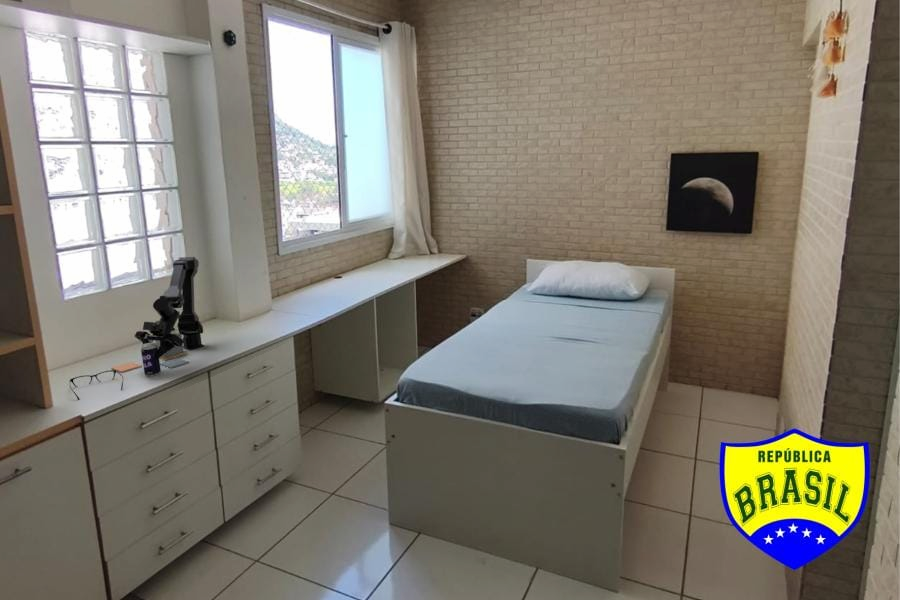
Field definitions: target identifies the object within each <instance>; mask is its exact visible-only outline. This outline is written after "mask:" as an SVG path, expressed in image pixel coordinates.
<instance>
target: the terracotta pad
mask: <svg viewBox="0 0 900 600" xmlns="http://www.w3.org/2000/svg"><path fill="white" fill-rule="evenodd" d="M140 368H143V364H142V365H141V364H139V363H136V362H133V361H130V362H126V363H123V364H119V365H116V366H111V370H116V371H118V372H119V373H120V374H122V373H125V372H129V371H133V370H136V369H140ZM118 372H117V373H118Z"/></svg>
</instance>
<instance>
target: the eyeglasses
mask: <svg viewBox="0 0 900 600" xmlns="http://www.w3.org/2000/svg"><path fill="white" fill-rule="evenodd" d="M108 372H112V373H113V377H112V379H111V380H114V379H115V377H116V374H119V375H120V376H121V377H122V379H124V377H123V375H122V373H120V372H118V371H116V370H113V369H111V370H105V371H101V372H98V373H96V374H91V375H79V376H75V377H73V378H70V380H69V383H72V385H74V387H75V388H78V385H76V384H75V382H74V380H75V379H78V378H83V377H88V378H89V377H90V381H89V383H88V385H90V384H91V383H92V382H93V378H94V377H95V379H96V381H97V382H99V383H101V382H102V381H101V380H100V379H99V378H98V376H99V375H101V374H103V373H108ZM123 385H124V380H122V381H121V387H120V391H121V390H122V391H123V387H124V386H123ZM69 388H70V389H71V391H72V392H73V394H74V395H75V397H76V398H77V400H78V401H80V400H81V398H79V396H78V394H77V393H76V392H75V391H74V390H73V388H72V386H71V385H69Z"/></svg>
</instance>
